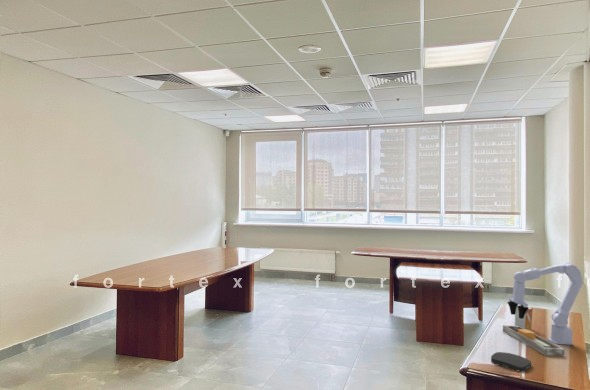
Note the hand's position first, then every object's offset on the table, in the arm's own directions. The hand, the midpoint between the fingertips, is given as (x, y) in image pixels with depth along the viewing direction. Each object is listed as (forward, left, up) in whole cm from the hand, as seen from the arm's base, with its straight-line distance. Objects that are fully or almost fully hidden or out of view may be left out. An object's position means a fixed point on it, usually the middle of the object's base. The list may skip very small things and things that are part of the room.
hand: (517, 316), depth 227 cm
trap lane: (0, +13, -11) cm, 17 cm away
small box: (-12, -12, -11) cm, 20 cm away
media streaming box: (+30, +43, -11) cm, 53 cm away
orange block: (0, +9, -9) cm, 12 cm away
